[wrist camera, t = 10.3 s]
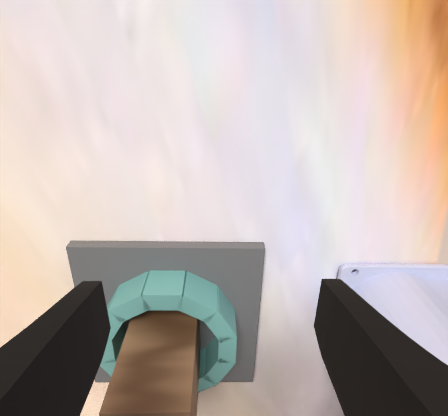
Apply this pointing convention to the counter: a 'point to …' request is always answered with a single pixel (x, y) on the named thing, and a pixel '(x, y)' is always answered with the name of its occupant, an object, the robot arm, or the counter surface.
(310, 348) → the counter surface
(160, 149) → the counter surface
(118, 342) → the collar
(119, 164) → the counter surface
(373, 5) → the counter surface
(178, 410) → the walnut peg
